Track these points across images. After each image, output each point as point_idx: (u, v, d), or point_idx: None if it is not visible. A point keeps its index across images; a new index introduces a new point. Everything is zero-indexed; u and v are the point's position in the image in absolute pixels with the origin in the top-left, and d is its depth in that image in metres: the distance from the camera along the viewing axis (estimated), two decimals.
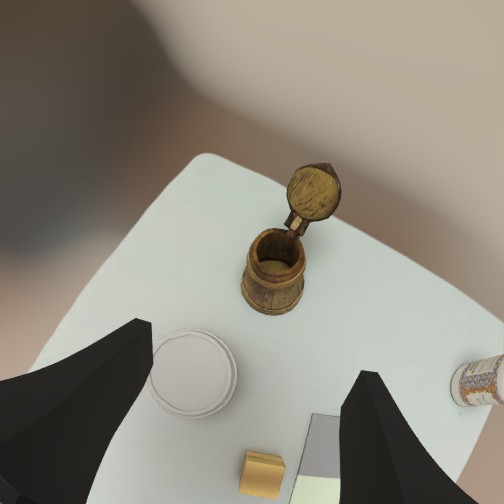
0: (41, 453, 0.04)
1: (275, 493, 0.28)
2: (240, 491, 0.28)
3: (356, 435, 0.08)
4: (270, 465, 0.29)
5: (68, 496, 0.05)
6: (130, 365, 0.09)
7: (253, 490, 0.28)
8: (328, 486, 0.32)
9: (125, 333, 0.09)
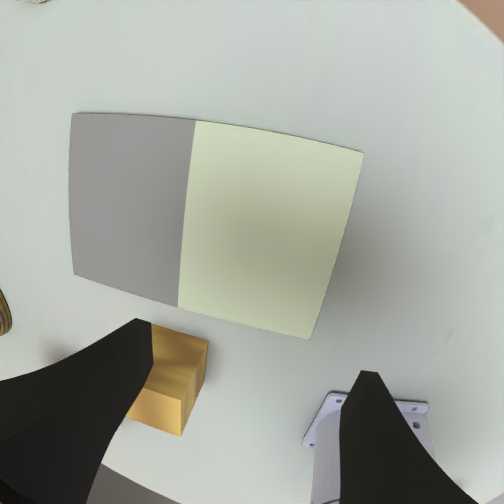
0: (41, 453, 0.04)
1: (169, 399, 0.17)
2: (177, 434, 0.18)
3: (356, 436, 0.08)
4: None
5: (68, 496, 0.05)
6: (130, 365, 0.09)
7: (171, 422, 0.18)
8: (202, 250, 0.19)
9: (125, 333, 0.09)
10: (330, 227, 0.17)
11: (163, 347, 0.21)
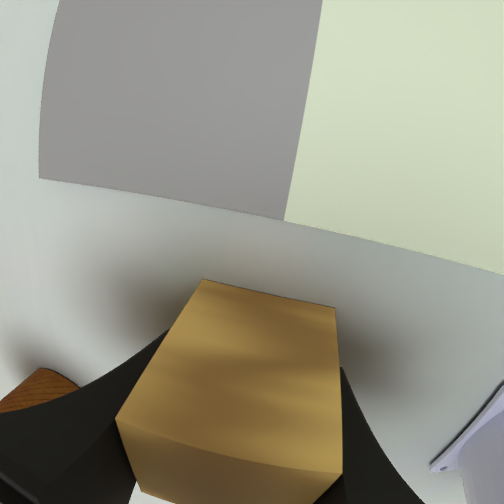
0: (90, 481, 0.04)
1: (300, 475, 0.05)
2: None
3: None
4: (130, 457, 0.06)
5: None
6: None
7: None
8: (365, 67, 0.07)
9: None
10: None
11: (242, 328, 0.08)
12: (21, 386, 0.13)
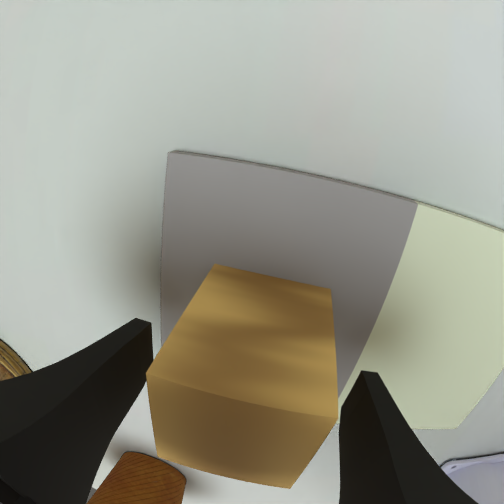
0: (41, 453, 0.04)
1: (303, 420, 0.06)
2: (284, 486, 0.08)
3: (356, 435, 0.08)
4: (153, 415, 0.07)
5: (68, 496, 0.05)
6: (130, 365, 0.09)
7: (280, 467, 0.07)
8: (382, 368, 0.13)
9: (125, 333, 0.09)
10: None
11: (251, 303, 0.10)
12: (124, 469, 0.19)
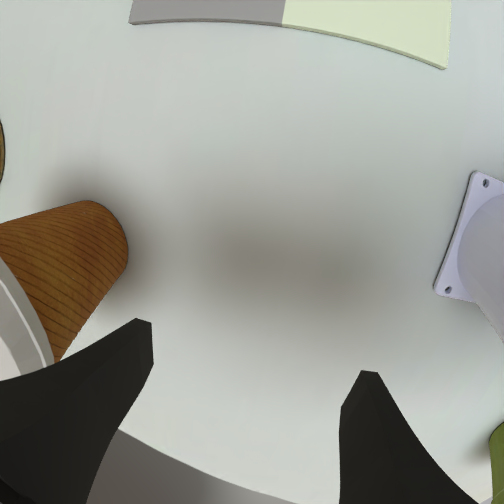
0: (41, 453, 0.04)
1: None
2: None
3: (356, 435, 0.08)
4: None
5: (68, 496, 0.05)
6: (130, 365, 0.09)
7: None
8: None
9: (125, 333, 0.09)
10: None
11: None
12: None
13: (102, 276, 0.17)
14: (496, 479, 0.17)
